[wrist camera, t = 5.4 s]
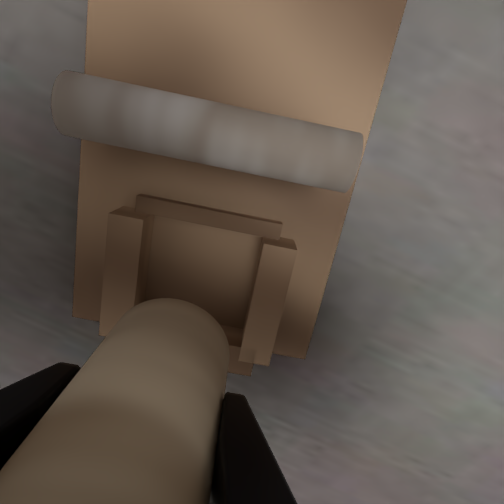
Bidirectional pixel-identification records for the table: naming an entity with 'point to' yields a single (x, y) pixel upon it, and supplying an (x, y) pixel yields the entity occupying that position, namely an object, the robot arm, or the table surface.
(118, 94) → the cradle
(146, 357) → the peg
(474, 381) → the table surface
